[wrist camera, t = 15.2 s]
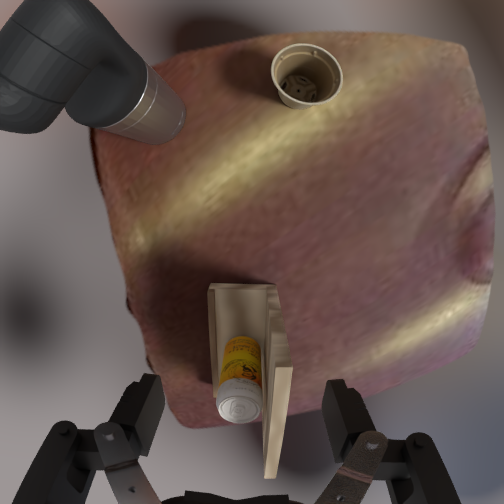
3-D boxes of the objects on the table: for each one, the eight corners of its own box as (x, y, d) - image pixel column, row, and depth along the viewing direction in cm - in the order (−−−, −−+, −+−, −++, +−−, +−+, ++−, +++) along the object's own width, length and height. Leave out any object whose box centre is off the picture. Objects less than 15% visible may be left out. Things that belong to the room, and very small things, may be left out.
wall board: (215, 385, 51) (200, 475, 30) (210, 283, 46) (179, 363, 25) (269, 386, 51) (275, 478, 30) (275, 284, 46) (292, 367, 25)
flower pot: (265, 65, 37) (268, 42, 29) (324, 67, 37) (338, 46, 29) (269, 119, 40) (273, 104, 31) (329, 119, 39) (346, 107, 31)
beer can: (265, 339, 46) (270, 400, 31) (254, 366, 47) (254, 428, 33) (230, 329, 45) (222, 389, 31) (220, 357, 47) (210, 419, 32)
